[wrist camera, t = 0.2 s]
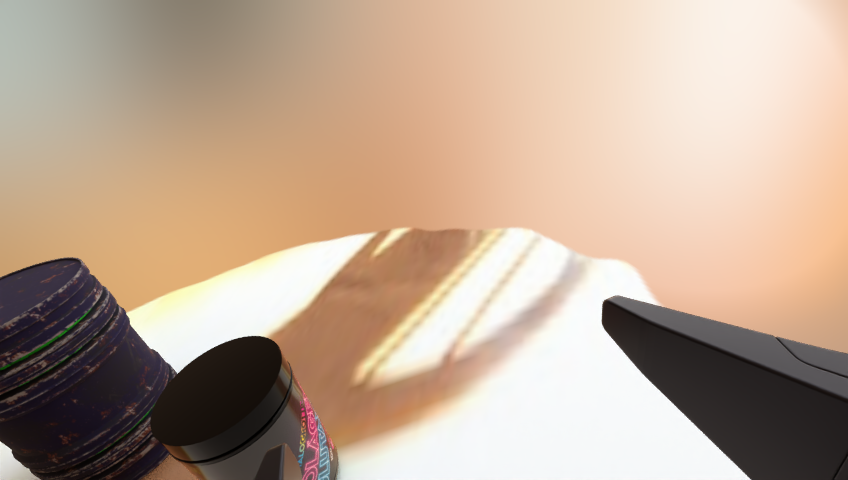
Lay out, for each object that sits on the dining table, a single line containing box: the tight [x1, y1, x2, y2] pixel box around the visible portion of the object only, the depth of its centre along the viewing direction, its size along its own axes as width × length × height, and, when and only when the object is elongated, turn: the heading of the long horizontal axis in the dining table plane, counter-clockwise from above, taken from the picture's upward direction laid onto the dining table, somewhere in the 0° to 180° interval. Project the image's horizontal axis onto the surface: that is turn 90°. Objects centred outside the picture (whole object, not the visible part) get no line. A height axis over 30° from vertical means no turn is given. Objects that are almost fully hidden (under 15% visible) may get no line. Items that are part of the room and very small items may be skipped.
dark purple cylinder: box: [0, 257, 177, 480], centre depth 27 cm, size 10×10×15 cm
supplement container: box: [150, 336, 338, 480], centre depth 22 cm, size 7×7×10 cm
